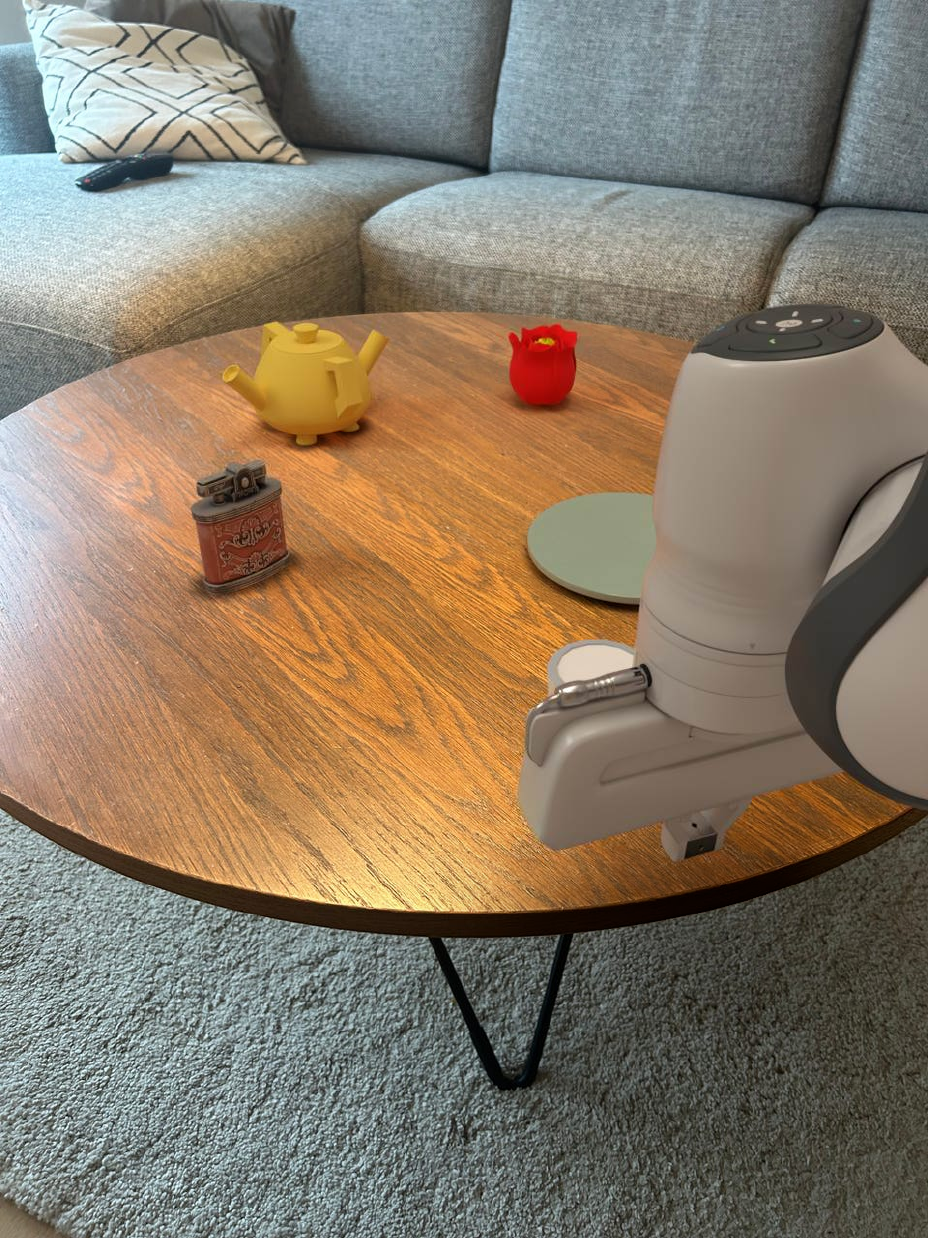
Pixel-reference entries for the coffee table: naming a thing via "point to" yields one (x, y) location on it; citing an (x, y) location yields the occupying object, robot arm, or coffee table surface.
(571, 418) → the coffee table surface
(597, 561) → the plate
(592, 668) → the shot glass
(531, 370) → the flower
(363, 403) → the teapot
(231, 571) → the lighter
